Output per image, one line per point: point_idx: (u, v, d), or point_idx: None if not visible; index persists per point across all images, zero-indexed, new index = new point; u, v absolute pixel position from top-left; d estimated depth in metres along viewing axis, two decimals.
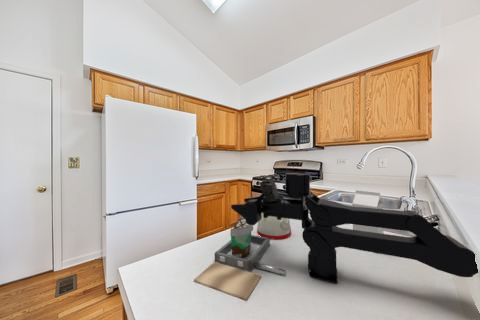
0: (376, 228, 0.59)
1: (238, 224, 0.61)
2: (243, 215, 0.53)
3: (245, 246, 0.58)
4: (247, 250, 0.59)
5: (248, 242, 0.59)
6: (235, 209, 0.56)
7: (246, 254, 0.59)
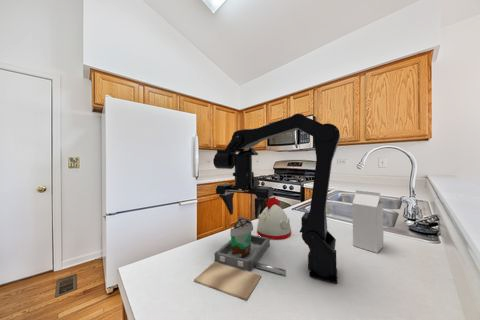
0: (376, 228, 0.59)
1: (238, 224, 0.61)
2: None
3: (245, 246, 0.58)
4: (247, 250, 0.59)
5: (248, 242, 0.59)
6: None
7: (246, 254, 0.59)
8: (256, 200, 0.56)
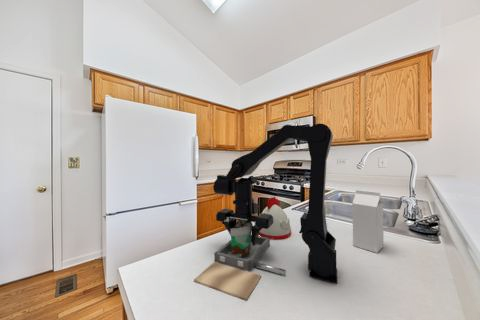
0: (376, 228, 0.59)
1: (238, 224, 0.61)
2: None
3: (245, 246, 0.58)
4: (247, 250, 0.59)
5: (248, 242, 0.59)
6: None
7: (246, 254, 0.59)
8: (253, 229, 0.57)
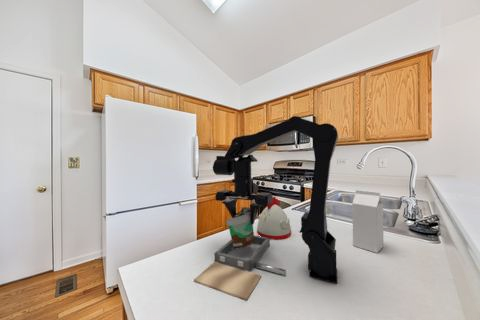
0: (376, 228, 0.59)
1: (237, 214, 0.62)
2: None
3: (245, 235, 0.58)
4: (248, 239, 0.59)
5: (248, 231, 0.59)
6: None
7: (248, 243, 0.59)
8: (251, 206, 0.57)
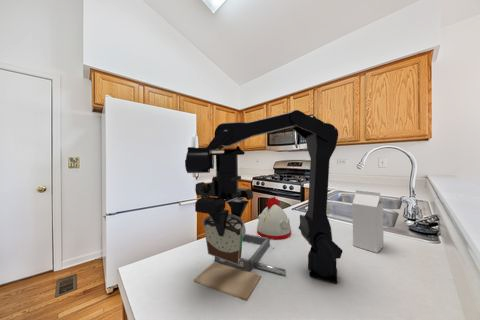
0: (376, 228, 0.59)
1: None
2: (222, 219, 0.44)
3: None
4: None
5: None
6: (221, 230, 0.45)
7: None
8: (245, 204, 0.51)
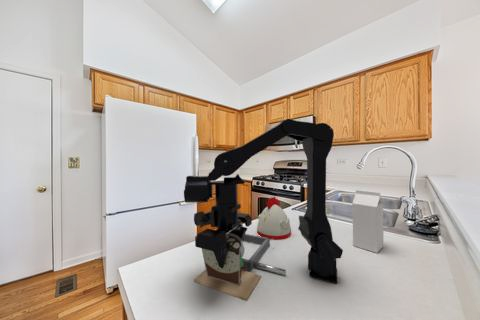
0: (376, 228, 0.59)
1: None
2: (223, 252, 0.43)
3: None
4: None
5: None
6: (221, 262, 0.45)
7: None
8: (244, 232, 0.50)
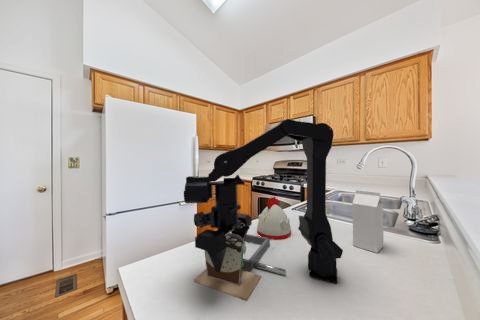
0: (376, 228, 0.59)
1: None
2: (219, 256, 0.42)
3: None
4: None
5: None
6: (218, 266, 0.43)
7: None
8: (246, 230, 0.52)
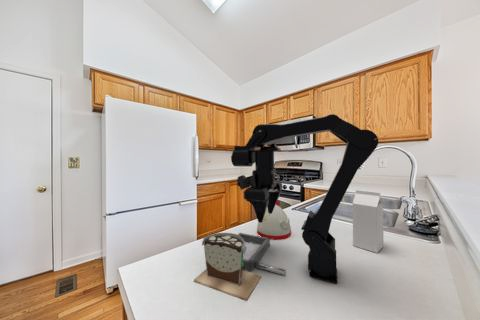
0: (376, 228, 0.59)
1: (225, 242, 0.48)
2: (263, 207, 0.50)
3: None
4: None
5: None
6: (261, 217, 0.52)
7: None
8: (279, 193, 0.61)
